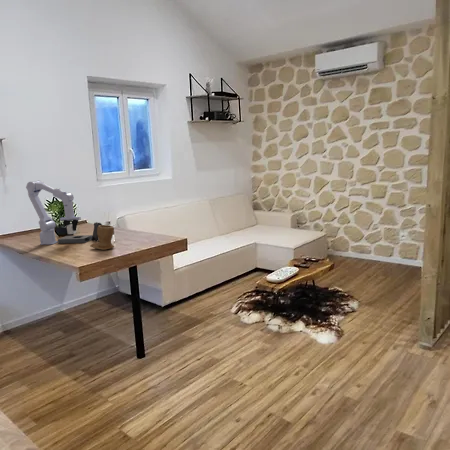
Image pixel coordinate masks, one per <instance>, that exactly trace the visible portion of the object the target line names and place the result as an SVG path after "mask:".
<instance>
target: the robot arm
mask: <svg viewBox="0 0 450 450" xmlns="http://www.w3.org/2000/svg"><path fill="white" fill-rule="evenodd" d="M25 188H26V191H27V195H28V198H29V200H30V202H31V204H32V206H33V208H34V209H35V212H36V214H37V216H38V218H39V221H38V225H39V229H40V232H39V241H40V244H39V245H54V244H56V243H58V240H56V239H57V238H56V234H55V230H56V229H55V228H56V226H57V225H56V222H55V221H54V219H53V218H52V217H50V216H49V215H48V213H47V211H46V209H45V207H44V205H43V204H42V201H41V199H40V198H39V193H40V192H41V191H46V192H48V193H50V194H52V196H53V197H55V198H57V199H59V200H60V201H61V202H62V204H63V208H64V216H65V217H60V218H59V221H60V222H62V223H63V225H64V226H65V228H66V229H67V225H70V224H72V225H73V230H74V231H76V232H77V226H78V223H79V221H80V220H82V218H81V216H75V211H74V204H73V201H74V195H73V193H71V192H67V191H63V190H62V189H61V188H58V187H57V188H54V187H52V186H50V185H49V184H46V183H45V182H44V181H42V180H34V181H28V182H27V184H26V186H25Z"/></svg>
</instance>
